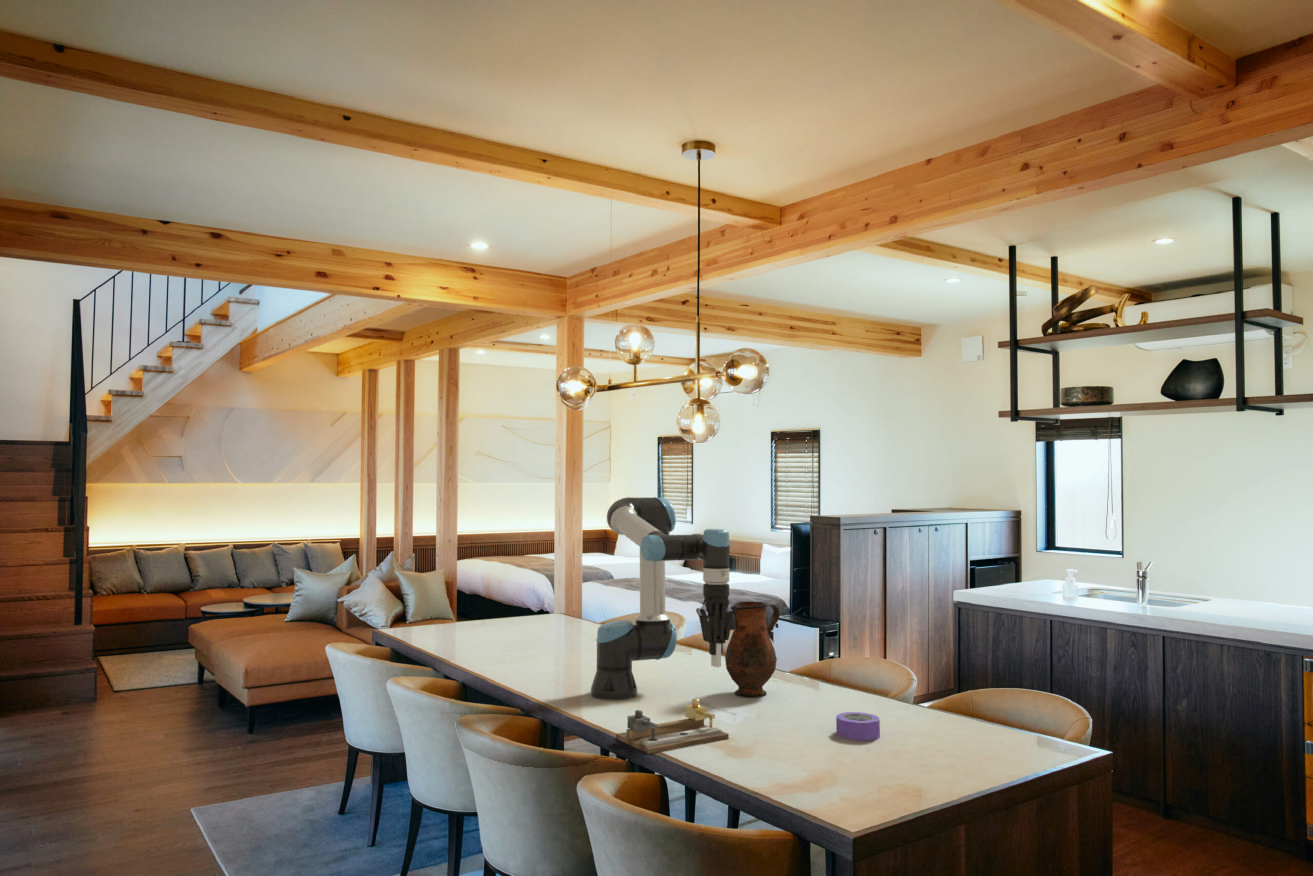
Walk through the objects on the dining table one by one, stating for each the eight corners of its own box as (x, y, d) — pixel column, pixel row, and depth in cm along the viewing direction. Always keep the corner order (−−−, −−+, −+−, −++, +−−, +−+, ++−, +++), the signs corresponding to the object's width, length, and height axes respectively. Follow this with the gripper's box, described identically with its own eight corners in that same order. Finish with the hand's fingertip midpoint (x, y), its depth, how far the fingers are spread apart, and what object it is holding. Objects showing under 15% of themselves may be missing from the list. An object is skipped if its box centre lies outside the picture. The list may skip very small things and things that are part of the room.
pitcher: (714, 693, 283) (715, 602, 284) (760, 684, 295) (760, 597, 297) (749, 703, 269) (749, 607, 271) (795, 694, 282) (795, 603, 284)
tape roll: (827, 732, 238) (827, 713, 239) (862, 727, 243) (862, 710, 243) (853, 743, 228) (853, 724, 228) (888, 739, 232) (888, 720, 233)
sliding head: (684, 720, 239) (684, 698, 239) (696, 718, 241) (696, 696, 242) (707, 729, 230) (707, 706, 231) (718, 727, 233) (719, 704, 233)
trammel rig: (616, 738, 229) (616, 709, 230) (693, 724, 244) (693, 697, 244) (648, 754, 216) (648, 722, 217) (728, 738, 230) (728, 709, 231)
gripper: (706, 585, 238) (705, 671, 236) (742, 583, 245) (742, 666, 243) (690, 583, 244) (689, 666, 242) (725, 580, 251) (725, 661, 249)
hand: (716, 666), depth 243 cm, fingers closed
